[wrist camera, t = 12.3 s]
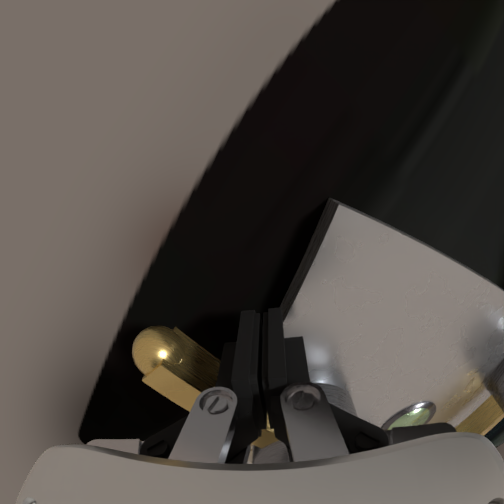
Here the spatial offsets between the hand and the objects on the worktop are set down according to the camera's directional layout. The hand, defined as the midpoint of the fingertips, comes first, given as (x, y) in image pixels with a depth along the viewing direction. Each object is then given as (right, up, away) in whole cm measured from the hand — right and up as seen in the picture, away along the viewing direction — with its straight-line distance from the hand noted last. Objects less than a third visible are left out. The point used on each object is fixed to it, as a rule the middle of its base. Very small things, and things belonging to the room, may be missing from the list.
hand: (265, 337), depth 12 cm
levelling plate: (+11, -8, +5) cm, 15 cm away
